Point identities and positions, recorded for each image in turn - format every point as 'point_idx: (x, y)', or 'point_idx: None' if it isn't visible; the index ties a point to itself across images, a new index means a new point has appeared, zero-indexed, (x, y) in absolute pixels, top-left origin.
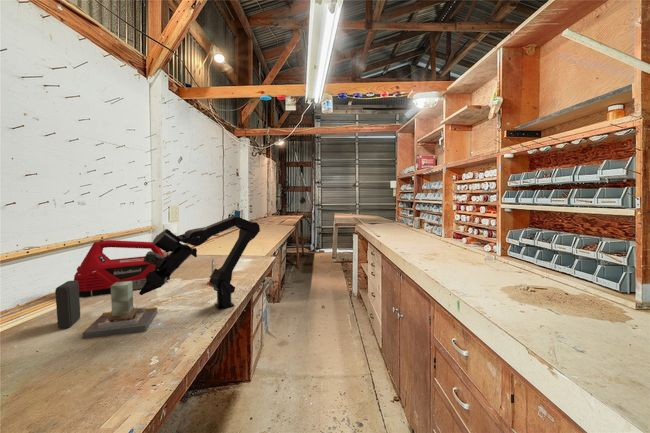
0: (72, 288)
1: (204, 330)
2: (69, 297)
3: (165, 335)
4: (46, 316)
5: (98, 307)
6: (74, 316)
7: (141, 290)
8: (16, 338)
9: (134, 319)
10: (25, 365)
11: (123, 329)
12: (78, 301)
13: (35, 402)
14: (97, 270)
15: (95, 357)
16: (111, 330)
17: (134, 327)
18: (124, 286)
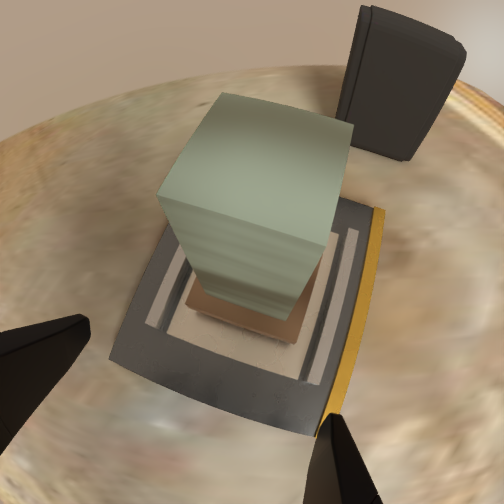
0: (399, 42)
1: (26, 500)
2: (361, 57)
3: (46, 405)
4: (443, 114)
5: (483, 212)
6: (367, 132)
7: (48, 326)
8: (320, 74)
9: (154, 319)
10: (139, 104)
11: (144, 279)
12: (419, 114)
13: (2, 158)
14: None
15: (54, 214)
16: (161, 239)
17: (125, 318)
18: (170, 179)
